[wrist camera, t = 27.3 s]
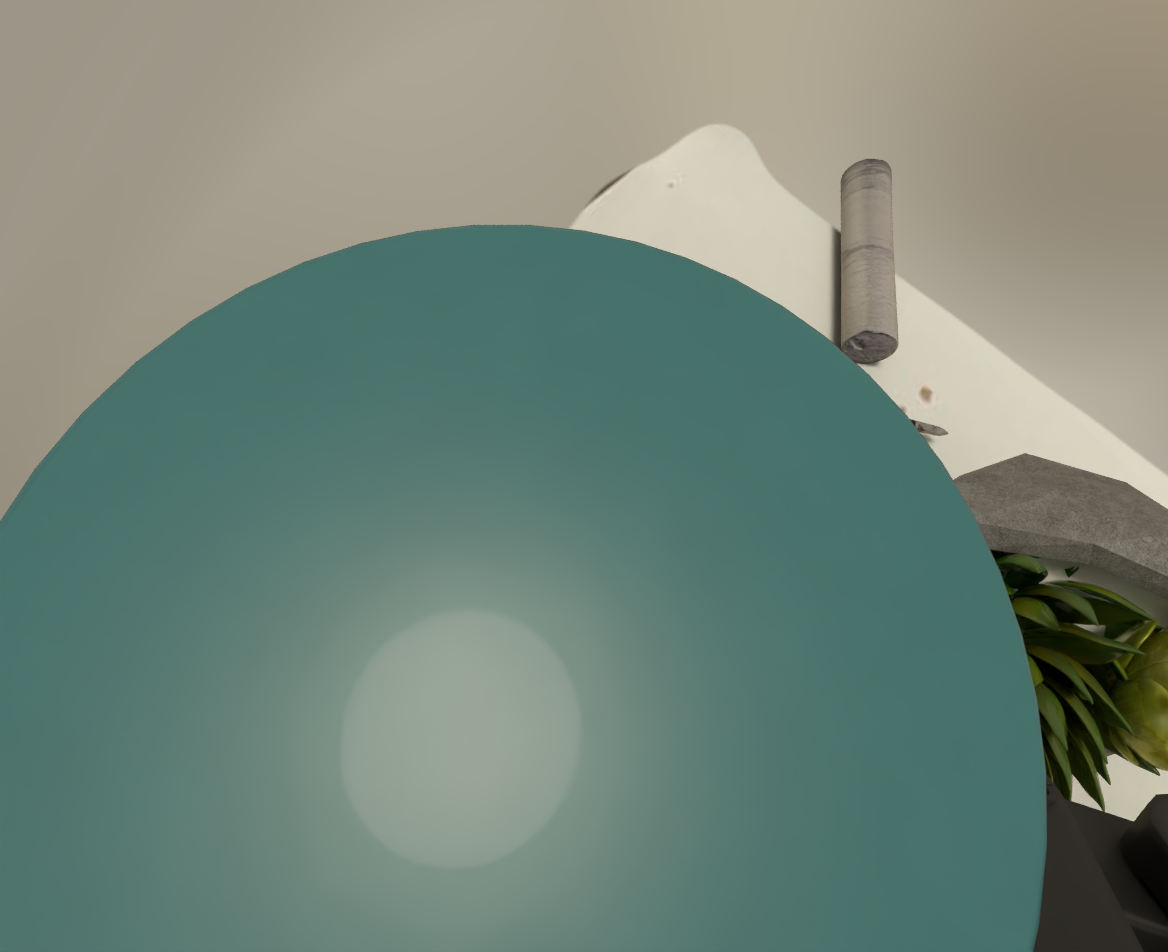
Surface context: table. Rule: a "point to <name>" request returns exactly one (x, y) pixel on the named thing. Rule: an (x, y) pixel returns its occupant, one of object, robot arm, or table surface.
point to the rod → (867, 263)
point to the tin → (508, 631)
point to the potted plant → (1083, 609)
